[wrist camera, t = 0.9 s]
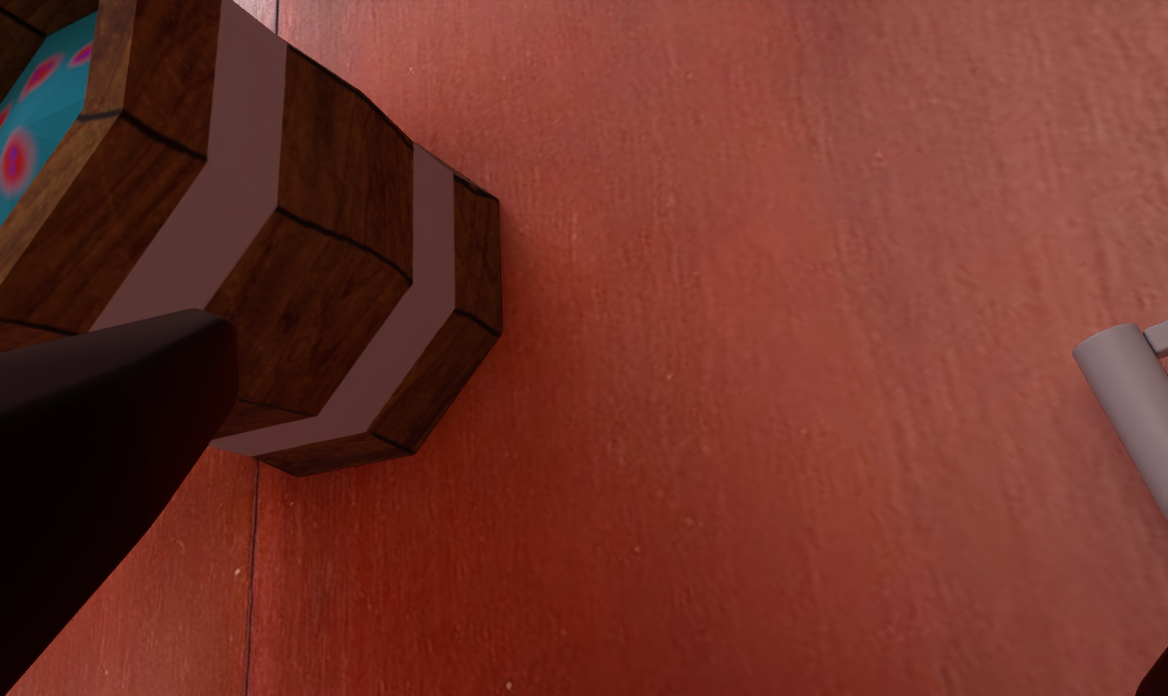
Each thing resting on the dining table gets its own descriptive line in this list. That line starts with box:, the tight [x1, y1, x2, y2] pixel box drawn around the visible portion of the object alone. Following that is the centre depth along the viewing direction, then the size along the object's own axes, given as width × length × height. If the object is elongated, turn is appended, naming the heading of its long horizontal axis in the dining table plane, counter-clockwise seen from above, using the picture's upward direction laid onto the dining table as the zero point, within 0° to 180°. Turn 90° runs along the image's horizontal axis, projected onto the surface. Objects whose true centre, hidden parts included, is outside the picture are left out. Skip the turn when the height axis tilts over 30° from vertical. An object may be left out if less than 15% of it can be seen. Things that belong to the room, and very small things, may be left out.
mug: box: [0, 0, 502, 477], centre depth 30 cm, size 20×14×15 cm
